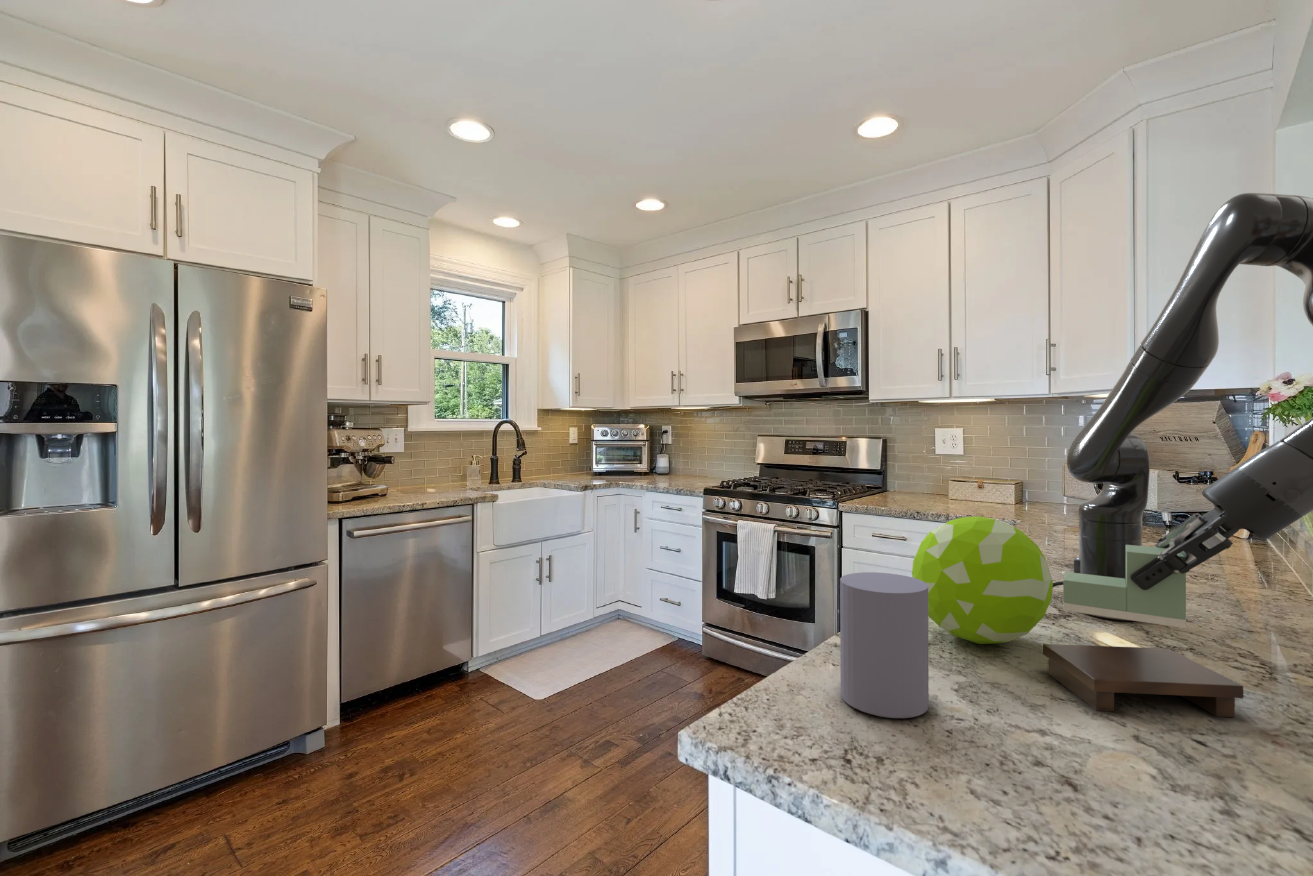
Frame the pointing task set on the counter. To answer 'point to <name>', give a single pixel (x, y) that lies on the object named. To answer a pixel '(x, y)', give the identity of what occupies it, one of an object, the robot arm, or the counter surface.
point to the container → (884, 644)
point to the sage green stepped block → (1129, 593)
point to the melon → (983, 579)
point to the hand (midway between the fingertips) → (1135, 578)
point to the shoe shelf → (1139, 676)
